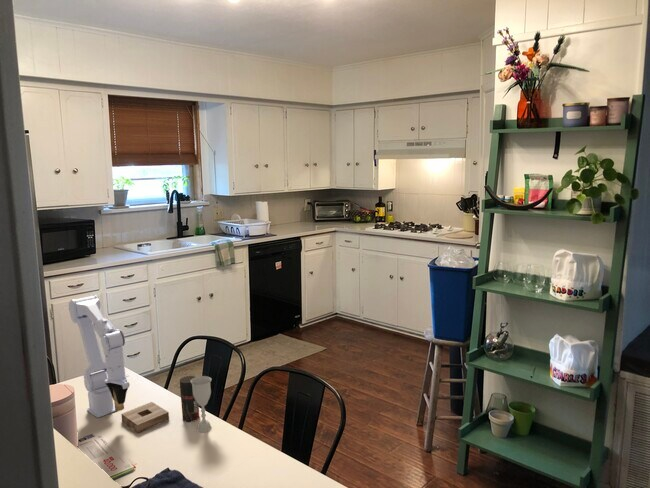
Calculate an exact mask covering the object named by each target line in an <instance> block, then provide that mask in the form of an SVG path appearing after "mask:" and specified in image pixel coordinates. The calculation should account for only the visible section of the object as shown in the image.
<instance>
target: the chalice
mask: <svg viewBox="0 0 650 488" xmlns="http://www.w3.org/2000/svg"><path fill="white" fill-rule="evenodd" d="M190 382H191V383H192V389H193V396H194V398H195V400H196V402H197V403H198V405H199V407H201V408H200V409H201V410H200V412H201V415H200V417H201V418H202V420H200V422H199V423H198V425H197V428H196V431H197V432H200V433H206V432H209V431H211V430H212V428H213V426H212V425H211V423H210V421H209V420H207V419H206V416H207V414H206V408H205V406H207V404H208V402H209V400H210V398H211V394H212V389H211V382H212V377H210V376H207V375H201V376H200V375H199V376H195V378H193V379H191V381H190Z"/></svg>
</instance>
